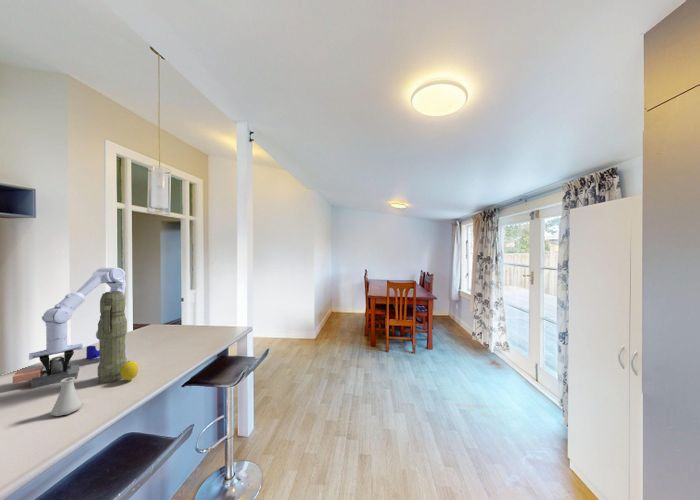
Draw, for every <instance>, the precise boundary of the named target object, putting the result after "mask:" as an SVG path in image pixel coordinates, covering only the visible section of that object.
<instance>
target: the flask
mask: <svg viewBox="0 0 700 500" xmlns="http://www.w3.org/2000/svg"><path fill="white" fill-rule="evenodd" d="M75 380H76V379H75V378H74V377H70V378H66V379H63V380H61V381H60V383H59V384H61V385H60V386H61V388H60V392H59V394H58V397H57V398H56V400H55V403H54V405H53V407H52V410H51V411H50V414H49V415H50V416H54V417H59V416H63V415H70V414H71V413H74V412H76V411H78V410H80V409H81V408H82V407H83V406H84V405H85V402H83V400H82V399H81V397H80V396H79V394H78V392H77V389H76V387H75V384H74V383H75Z"/></svg>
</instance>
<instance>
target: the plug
mask: <svg viewBox="0 0 700 500" xmlns="http://www.w3.org/2000/svg"><path fill="white" fill-rule="evenodd" d="M49 369H50V375H52V374H57V373H62V372H64V356H55V357H52V358H51V359H49Z"/></svg>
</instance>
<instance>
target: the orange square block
mask: <svg viewBox="0 0 700 500" xmlns="http://www.w3.org/2000/svg"><path fill="white" fill-rule="evenodd" d="M43 366H44V365H41V366H36V367H31V368H24V369H20V370H17V371H16V372H15V373H14V375H13V376H12V384H18V383H22V382H27V381H32V378H37V377H40V376H41V375H42V373H43V370H44V367H43Z"/></svg>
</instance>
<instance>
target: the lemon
mask: <svg viewBox="0 0 700 500" xmlns="http://www.w3.org/2000/svg"><path fill="white" fill-rule="evenodd" d="M138 373H139V364H138V363H137V362H136V361H133V360H127V362H126V363H125V364H124V365H123V366H122V368H121V371H120V374H121V377H122V378H123V379H122V380H126V381H127V382H128V381H129V382H130V381H132V379H134V378H135V377H136V376H137V375H138Z"/></svg>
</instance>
